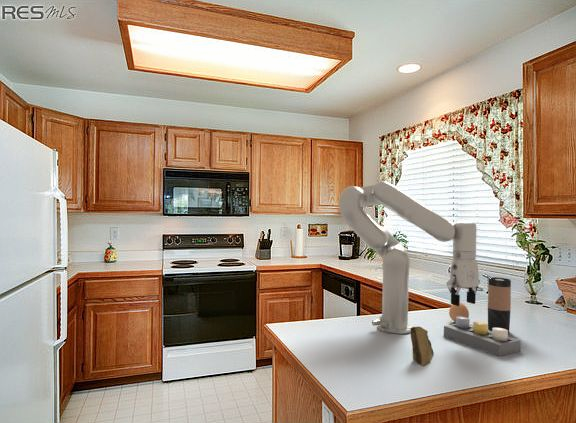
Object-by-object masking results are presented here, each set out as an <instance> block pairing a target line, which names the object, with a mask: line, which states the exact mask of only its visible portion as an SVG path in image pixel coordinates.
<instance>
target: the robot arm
mask: <svg viewBox="0 0 576 423" xmlns="http://www.w3.org/2000/svg"><path fill="white" fill-rule="evenodd" d="M338 200H339V201H338V208H339V213H340V215H341V218H342V219H343V221H344V222H345V223H346V225H348V226H349V227H350V229H351V230H353V232H354V233H355V234H356V235H357V236H358V237H359V239H361V241H363V243H364V244H365V245H366V246H367V247H368V248H369V249H370V250H374V251H375V253H377V255H378V256H379V257H380V258H381V259H382V301H381V303H382V304H381V315H380V316H379V318H378V319H375V320H372V321H371V324H372V326H374V327H375V326H377V328H378V329H379V330H380V331H383V332H386V333H389V334H390V333H391V334H396V335H397V334H398V335H402V334H403V335H404V334H409V333H410V334H411V330H410V328H412V326H411V325H409V324H408V323H409V322H408V321H409V319H408V318H409V287H410V286H409V284H410V282H409V280H410V278H409V276H410V263H411V262H410V254H409V251H408V250H407V249H406V247H405V246H404V245H403V244H401V243H400V242H399V241H398V240H397V238H395V237H394V236H393V235H392V234H391V232H389V231H388V230H387V229H386V228H385V227H383V226H382V225H379V223H377V222H376V221H375V220H374V219H373V218H371V215H370V214H368V213H367V212H366V211H365V210H364V209H363V208H365V207H371V206H378V205H379V206H380V205H382V206H384V207H385V208H386V209H387V210H389V211H390V212H392V213H394V214H395V215H397V216H398V217H400V218H401V219H402V220H404V221H406V222H408V223H411V224H412V225H415V226H416V227H418V228H419V229H421V230H422V231H424V232H425V233H427V234H428V235H430V236H431V237H432V238H434V239H436V240H437V241H439V242H443V243H446V242H451V241H453V242H452V247H453V248H452V260H451V267H450V278H449V280H448V281H447V282H446V286H447V288H448V290H449V293H450V304H451V306H452V305H456V306H459V305H460V301H461V300H460V298H461V295H460V291H461V289H467V291H466V303H468V304H473V305H476V298H477V297H476V293H478V292H477V291H478V288H479V285H480V283H481V280H480V279H479V276H480V275H479V264H478V261H477V260H478V259H477V224H476V223H475V222H473V221H456V222H454V221H450V220H447V219H446V218H444V217H442V216H441V215H440V214H438V213H437V212H434V211H433V210H431V209H430V208H428V207H426V206H425V205H424V204H423V203H421V202H420V201H418V200H417V199H415V198H414V197H412V196H410V195H409V194H407V193H405V192H404V191H402V190H401V189H399V188H398V187H396V186H395V185H393V184H392V183H390V182H388V181H385V180H384V181H383V180H382V181H378V182H377V183H375V184H373V185H372V184H371V185H367V186H355V185H349V186H347V187H346V188H344V189H343V191H342V192H341V193H340V197H339V199H338Z"/></svg>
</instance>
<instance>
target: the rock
mask: <svg viewBox="0 0 576 423" xmlns="http://www.w3.org/2000/svg"><path fill="white" fill-rule="evenodd" d="M411 327H412V326H411ZM410 330H411V332H410V338H411V339H410V340H411V346H412V347H411V348H412V351H411V352H412V360H413V361H414V363H415V362H416V364H418V365H420V366H422V367H425V365H427V364H430V363H431V361H432V358H433V357H432V356H433V355H434V354H435V352H434V349H433V347H432V342H431V340H430V339H429V335H428V333H429V331H428V330H427V329H425V328H423V327H421V326H413V327H412V328H410Z"/></svg>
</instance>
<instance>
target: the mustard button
mask: <svg viewBox="0 0 576 423" xmlns="http://www.w3.org/2000/svg"><path fill="white" fill-rule="evenodd" d="M472 325H473V332H474V333H475V334H479V335H487V334H488V323H486V322H482V321H474V322H473V324H472Z"/></svg>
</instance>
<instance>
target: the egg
mask: <svg viewBox="0 0 576 423" xmlns="http://www.w3.org/2000/svg"><path fill="white" fill-rule="evenodd" d="M448 312H449V317H450V318H449V319H451V320H452V321H453V322H454V323H456V317H466V318H469V316H470V312H469V308H468V307H467V306H466V305H465V304H464V303H463V302H460V305H459V306H456V305H452V304H451V306H450V307H449V311H448ZM469 319H470V318H469Z"/></svg>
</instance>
